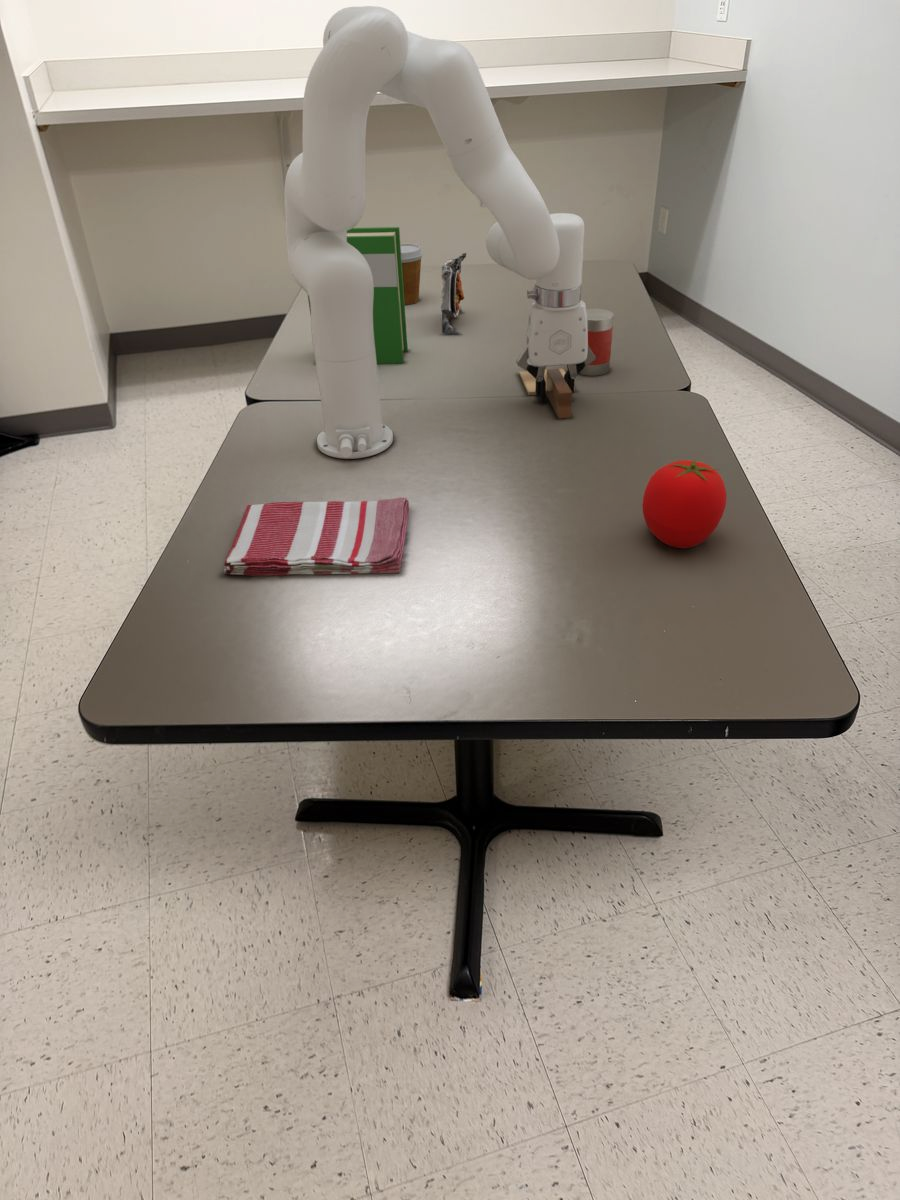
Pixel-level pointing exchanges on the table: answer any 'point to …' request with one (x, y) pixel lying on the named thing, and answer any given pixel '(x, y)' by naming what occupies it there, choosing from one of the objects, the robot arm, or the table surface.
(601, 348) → the tin can
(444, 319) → the meal
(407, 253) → the disposable coffee cup
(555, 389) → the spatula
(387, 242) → the hardback book
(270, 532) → the dish towel
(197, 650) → the table surface
